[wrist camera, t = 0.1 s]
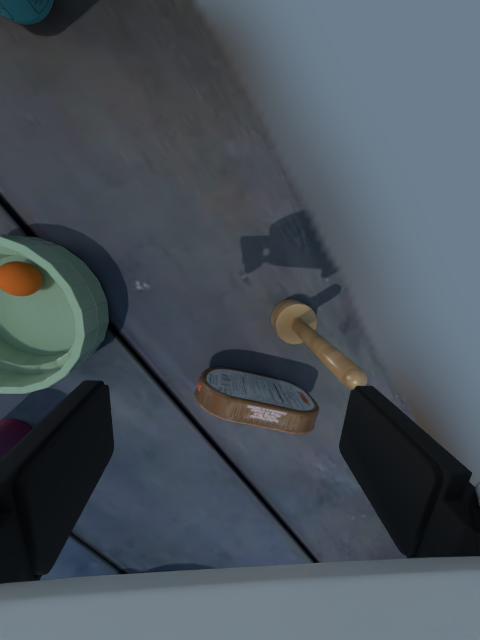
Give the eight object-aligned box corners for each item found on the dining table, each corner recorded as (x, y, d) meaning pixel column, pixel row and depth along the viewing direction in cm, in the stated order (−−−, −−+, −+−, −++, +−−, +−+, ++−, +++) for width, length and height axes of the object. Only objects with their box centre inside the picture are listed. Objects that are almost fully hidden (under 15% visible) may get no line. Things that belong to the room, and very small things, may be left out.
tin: (197, 377, 32) (189, 419, 24) (202, 357, 31) (196, 393, 23) (299, 399, 34) (324, 444, 26) (307, 380, 34) (334, 421, 26)
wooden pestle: (272, 298, 30) (330, 347, 14) (311, 299, 31) (406, 349, 15) (268, 335, 31) (317, 417, 16) (305, 336, 32) (388, 418, 16)
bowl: (-49, 231, 25) (-128, 225, 20) (105, 242, 27) (74, 239, 21) (-17, 365, 29) (-75, 392, 24) (115, 368, 31) (91, 394, 25)
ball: (12, 259, 26) (-20, 260, 22) (47, 261, 26) (21, 263, 23) (18, 292, 27) (-12, 298, 23) (52, 294, 27) (28, 300, 24)
